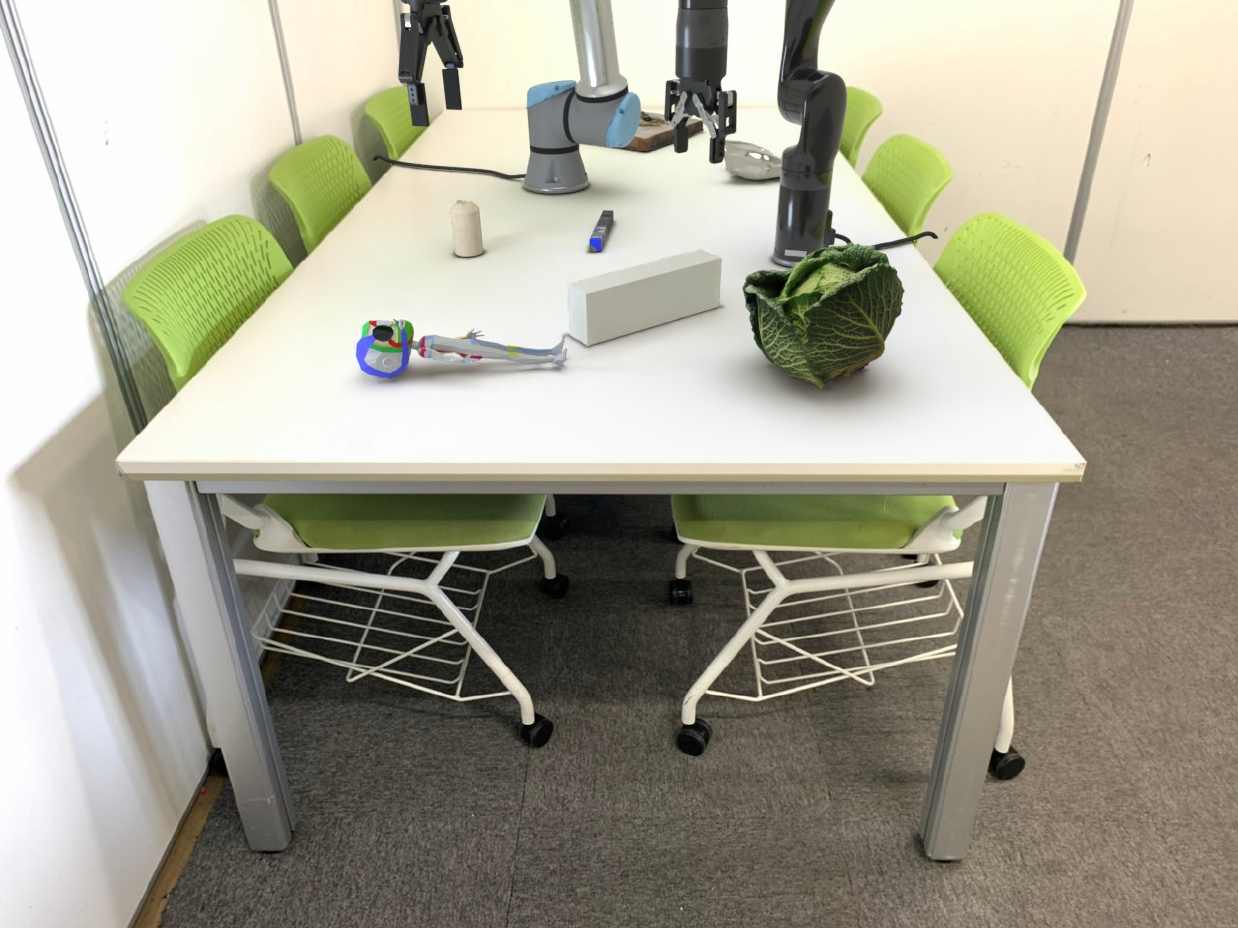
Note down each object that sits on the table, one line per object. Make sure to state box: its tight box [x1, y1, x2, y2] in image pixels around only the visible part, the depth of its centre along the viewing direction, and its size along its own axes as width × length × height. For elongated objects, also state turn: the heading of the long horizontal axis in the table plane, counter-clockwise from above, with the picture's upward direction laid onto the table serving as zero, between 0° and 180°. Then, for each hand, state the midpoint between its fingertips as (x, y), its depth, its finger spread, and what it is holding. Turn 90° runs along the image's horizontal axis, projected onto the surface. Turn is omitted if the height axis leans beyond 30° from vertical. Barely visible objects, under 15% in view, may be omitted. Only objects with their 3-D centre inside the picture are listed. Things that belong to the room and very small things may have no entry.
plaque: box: [618, 109, 705, 152], centre depth 257 cm, size 30×7×30 cm
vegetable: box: [742, 241, 906, 390], centre depth 125 cm, size 20×19×20 cm
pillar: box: [588, 209, 615, 252], centre depth 182 cm, size 2×2×20 cm
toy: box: [353, 318, 568, 379], centre depth 130 cm, size 10×8×30 cm
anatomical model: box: [710, 136, 782, 181], centre depth 217 cm, size 15×9×25 cm
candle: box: [449, 199, 484, 258], centre depth 172 cm, size 6×6×10 cm
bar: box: [566, 248, 723, 347], centre depth 144 cm, size 26×5×8 cm, turn 125°
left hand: (438, 117), depth 151 cm, fingers open, 13 cm apart
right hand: (698, 157), depth 138 cm, fingers open, 8 cm apart
